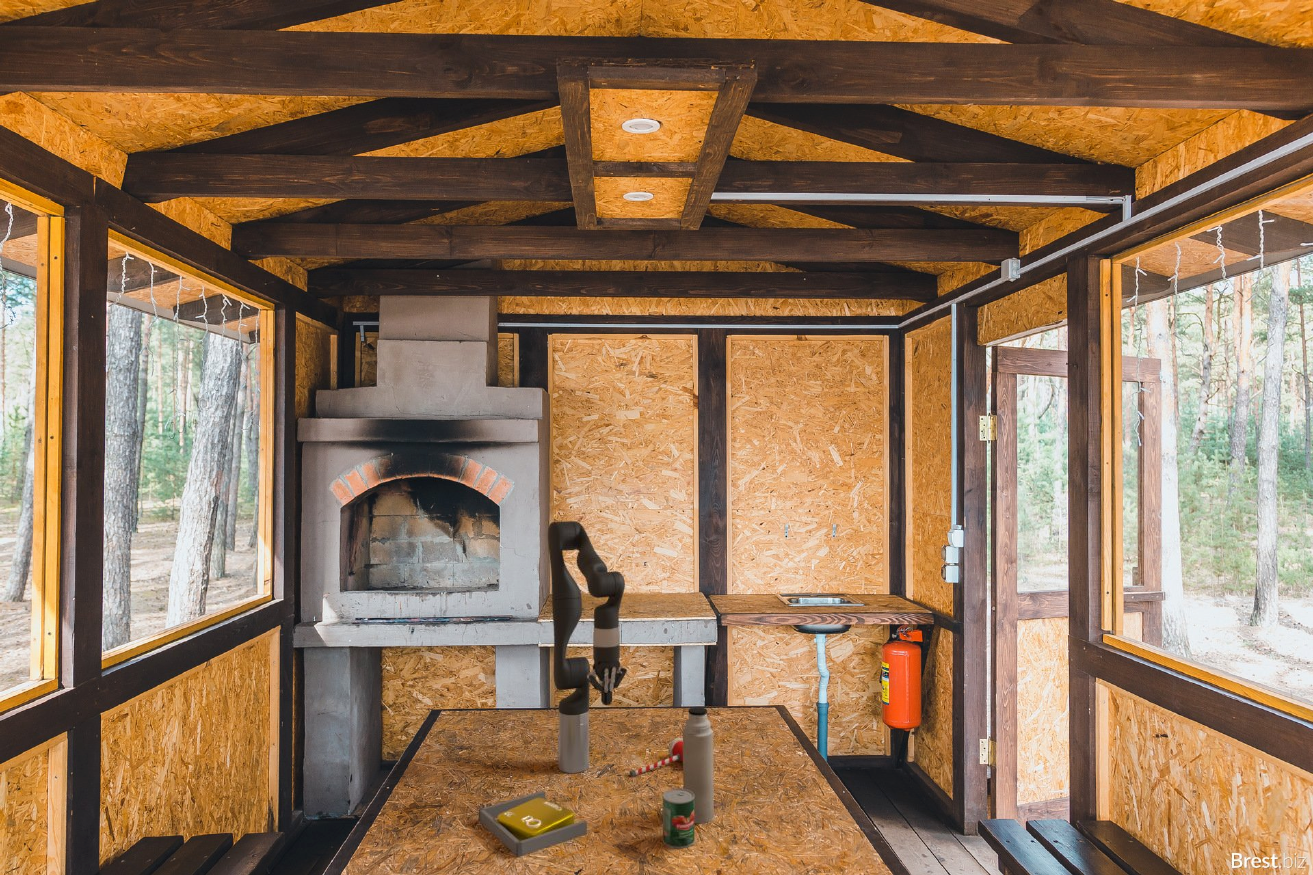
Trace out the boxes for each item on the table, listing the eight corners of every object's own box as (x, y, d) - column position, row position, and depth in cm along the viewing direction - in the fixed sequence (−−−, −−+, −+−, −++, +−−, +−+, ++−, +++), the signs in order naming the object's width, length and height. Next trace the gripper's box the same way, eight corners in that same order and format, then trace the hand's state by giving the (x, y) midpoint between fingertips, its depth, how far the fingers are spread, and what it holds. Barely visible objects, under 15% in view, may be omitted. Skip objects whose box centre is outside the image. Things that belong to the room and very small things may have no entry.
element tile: (578, 829, 196) (577, 810, 196) (532, 851, 184) (532, 831, 184) (539, 812, 205) (539, 793, 205) (493, 832, 194) (494, 813, 194)
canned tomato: (684, 851, 183) (684, 805, 184) (656, 843, 188) (656, 797, 188) (700, 837, 190) (700, 792, 190) (673, 829, 194) (673, 785, 195)
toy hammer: (640, 784, 222) (640, 762, 223) (621, 770, 233) (621, 749, 233) (705, 768, 234) (705, 747, 234) (685, 756, 244) (685, 735, 244)
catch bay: (478, 820, 200) (478, 809, 200) (543, 801, 211) (543, 790, 211) (517, 857, 181) (517, 844, 181) (586, 833, 192) (586, 821, 193)
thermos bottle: (688, 807, 207) (687, 702, 208) (717, 811, 204) (716, 705, 205) (679, 820, 199) (678, 712, 200) (709, 825, 197) (708, 715, 197)
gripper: (618, 637, 224) (618, 696, 223) (579, 643, 216) (579, 705, 215) (633, 641, 218) (633, 703, 217) (593, 648, 210) (593, 712, 209)
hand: (606, 704), depth 216 cm, fingers closed
